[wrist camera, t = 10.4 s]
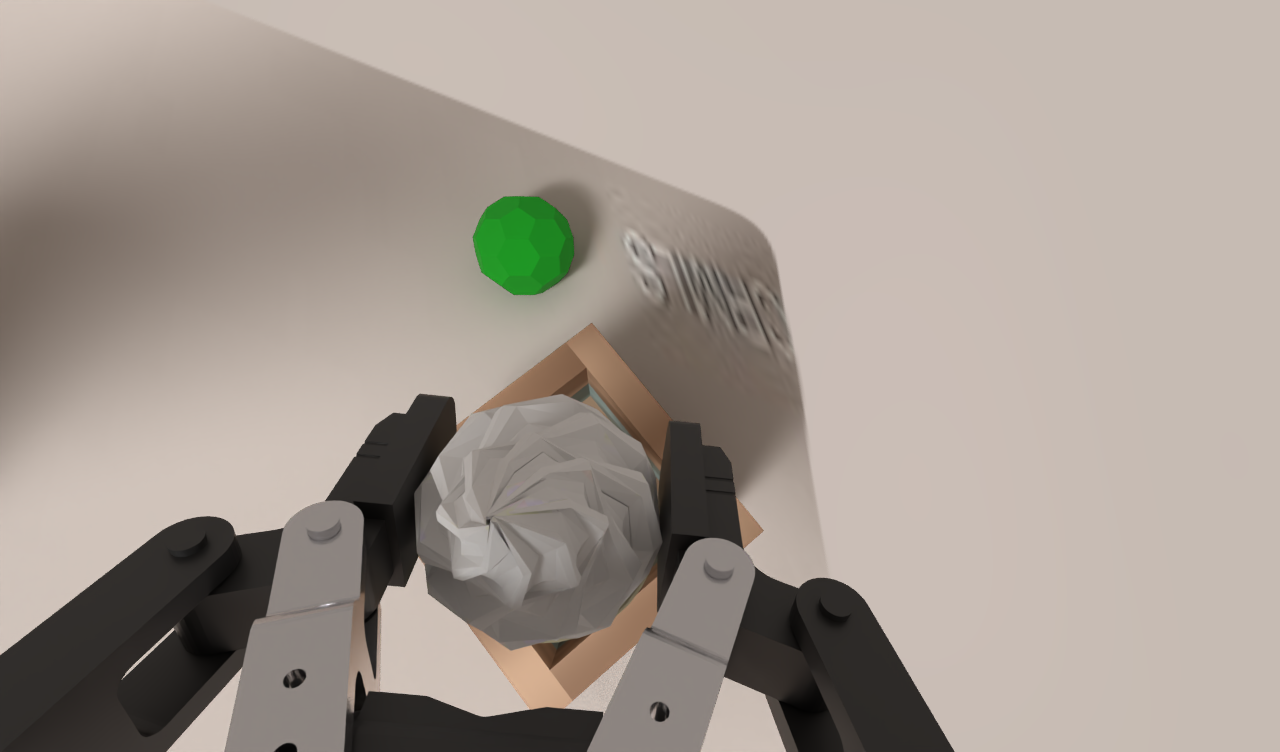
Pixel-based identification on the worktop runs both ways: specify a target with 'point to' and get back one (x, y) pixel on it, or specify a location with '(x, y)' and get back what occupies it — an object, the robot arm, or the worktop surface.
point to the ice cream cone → (538, 521)
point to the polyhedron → (523, 244)
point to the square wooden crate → (620, 396)
